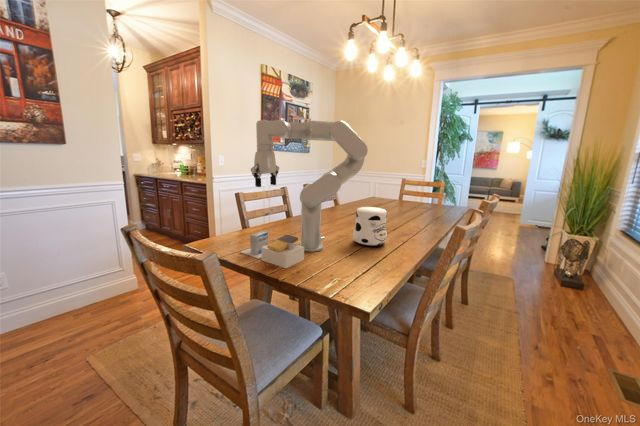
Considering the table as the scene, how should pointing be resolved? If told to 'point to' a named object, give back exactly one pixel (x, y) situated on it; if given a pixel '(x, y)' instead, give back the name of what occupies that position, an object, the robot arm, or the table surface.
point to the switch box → (283, 255)
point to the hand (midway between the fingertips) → (266, 185)
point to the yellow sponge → (282, 242)
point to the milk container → (370, 226)
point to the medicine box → (258, 241)
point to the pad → (252, 254)
